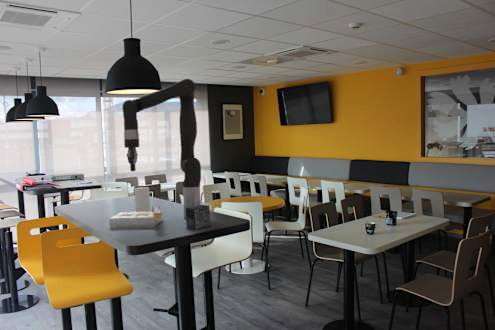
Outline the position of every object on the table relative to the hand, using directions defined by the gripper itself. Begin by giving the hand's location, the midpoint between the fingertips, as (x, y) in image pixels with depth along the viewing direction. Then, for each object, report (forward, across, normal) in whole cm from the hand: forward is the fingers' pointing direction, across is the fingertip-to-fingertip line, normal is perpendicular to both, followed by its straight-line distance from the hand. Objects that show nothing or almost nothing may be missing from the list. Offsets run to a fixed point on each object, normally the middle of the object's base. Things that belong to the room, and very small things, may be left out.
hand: (133, 171), depth 211 cm
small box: (+27, +21, +36) cm, 50 cm away
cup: (+27, -17, 0) cm, 32 cm away
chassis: (+27, +8, +3) cm, 28 cm away
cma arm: (+21, +17, +15) cm, 31 cm away
